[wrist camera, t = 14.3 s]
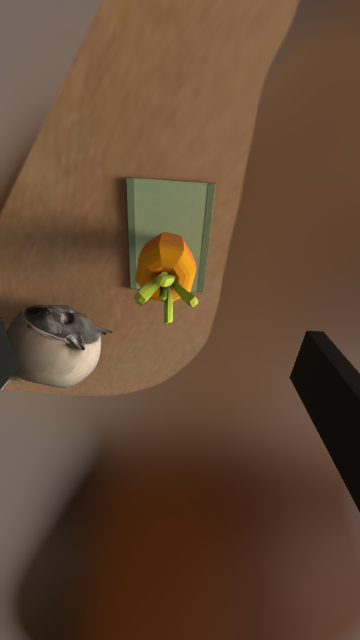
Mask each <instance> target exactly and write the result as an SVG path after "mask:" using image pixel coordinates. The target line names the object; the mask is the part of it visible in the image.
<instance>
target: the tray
mask: <svg viewBox="0 0 360 640" xmlns="http://www.w3.org/2000/svg"><path fill="white" fill-rule="evenodd" d="M126 187H127V213H128V239H129V266H130V289H140V288H141V287H140V286H139V285H138V283H137V282H136V281H135V276H136V270H137V264H138V258H139V254H140V252H141V250H142V248H143V247H144V245H145V244H146V243H147V242H149V241H150V240H152V239H153V238H155V237H156V236H158V235H159V234H161V233H163V232H169V233H173V234H177V235H180V236H181V237H182V238H183V240H184V241H185V243H186V245H187V246H188V248H189V250H190V251H191V253H192V255H193V258H194V260H195V264H196V268H197V270H196V273H195V277H194V280H193V284H192V288H191V291H190V292H204V284H205V275H206V266H207V257H208V249H209V240H210V231H211V222H212V213H213V205H214V196H215V187H216V184H215V183H201V182H186V181H171V180H156V179H141V178H126Z"/></svg>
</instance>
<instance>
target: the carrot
mask: <svg viewBox="0 0 360 640" xmlns="http://www.w3.org/2000/svg"><path fill="white" fill-rule="evenodd" d="M196 270H197V268H196V264H195V260H194V258H193V255H192V253H191V251H190V250H189V248H188V246H187V245H186V243H185V241H184V240H183V238H182V237H181V236H180V235H177V234H173V233H169V232H163V233H161V234H159V235H158V236H156V237H155V238H153V239H152V240H150V241H149V242H147V243H146V244H145V245H144V247H143V248H142V250H141V252H140V254H139V258H138V264H137V270H136V276H135V281H136V282H137V283H138V285H139V286H140V287H141V288H140V289H139V290H138V293H137V294H136V295H135V298H134V299H135V300H136V302H137V303H138V304H140V305H141V306H142V305H143V304H144V303H145V302H146V301H147V300H148V299H153V300H157V301H162V302H165V307H164V324H169V323H171V322H172V321H173V302H174V301H176V300H177V299H179V298H182V300H184V301H185V302H186V303H187V304H188V305H190V306H191V307H194V306H196V305H197V303H198V300H197V298H196V297H195V296H194V295H192V294H191V293H190V291H191V288H192V284H193V280H194V277H195V273H196Z"/></svg>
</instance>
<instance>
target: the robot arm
mask: <svg viewBox="0 0 360 640" xmlns="http://www.w3.org/2000/svg"><path fill="white" fill-rule="evenodd" d="M17 368H18V365H17V362H16V359H15V356H14V353H13V350H12V347H11V344H10V341H9V338H8V335H7V332H6V329H5V326H4V323H3V320H2V317H0V390H1V389H2V387H3V386H4V385H5V384H6V382H7V381H8V380H9V378H10V377H11V376H12V374H13V373H14V372H15V371H16V369H17ZM290 379H291V381H292V383H293V385H294V387H295V389H296V390H297V392H298V395H299V397H300V398H301V400H302V402H303V404H304V406H305V408H306V410H307V412H308V414H309V416H310V418H311V420H312V421H313V423H314V425H315V427H316V429H317V431H318V433H319V435H320V437H321V439H322V440H323V443H324V444H325V446H326V448H327V450H328V452H329V454H330V456H331V458H332V460H333V462H334V464H335V465H336V468H337V469H338V471H339V473H340V475H341V477H342V479H343V481H344V483H345V485H346V487H347V489H348V490H349V492H350V494H351V496H352V498H353V500H354V502H355V504H356V506H357V508H358V510H359V512H360V373H359V372H358V371H357V370H356V369H355V368H354V367H353V365H352V364H351V363H350V362H349V361H348V360H347V358H346V357H345V356H344V355H343V354H342V353H341V351H340V350H339V349H338V348H337V347H336V346H335V344H334V343H333V342H332V341H331V340H330V339H329V338H328V336H327V335H326V334H325V333H324V332H320V331H306V334H305V337H304V339H303V342H302V345H301V348H300V351H299V353H298V356H297V359H296V362H295V364H294V367H293V370H292V373H291V375H290Z"/></svg>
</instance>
